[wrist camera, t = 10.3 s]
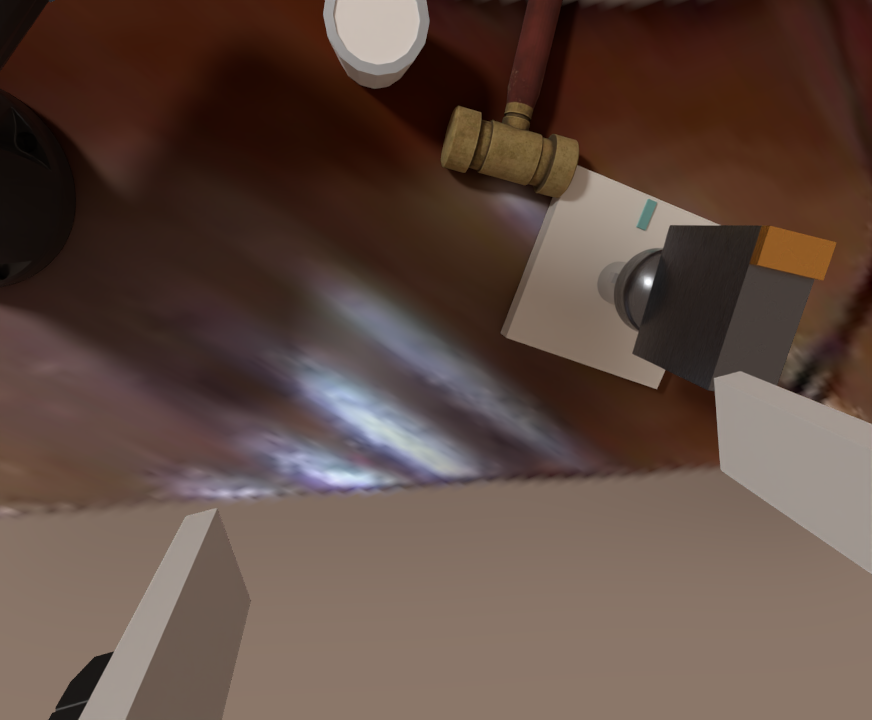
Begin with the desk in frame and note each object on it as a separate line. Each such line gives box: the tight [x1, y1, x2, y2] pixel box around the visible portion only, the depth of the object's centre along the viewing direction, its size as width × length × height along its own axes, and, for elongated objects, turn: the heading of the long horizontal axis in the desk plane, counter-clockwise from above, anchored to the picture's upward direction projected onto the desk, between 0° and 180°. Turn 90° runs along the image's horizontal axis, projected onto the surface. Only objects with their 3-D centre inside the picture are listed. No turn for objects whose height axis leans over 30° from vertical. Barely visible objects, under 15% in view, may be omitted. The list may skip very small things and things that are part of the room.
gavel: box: [441, 0, 579, 198], centre depth 44 cm, size 21×5×10 cm
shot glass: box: [323, 0, 429, 89], centre depth 40 cm, size 7×7×7 cm
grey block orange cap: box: [614, 225, 836, 391], centre depth 36 cm, size 9×6×13 cm
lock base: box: [501, 165, 719, 389], centre depth 46 cm, size 15×15×8 cm
